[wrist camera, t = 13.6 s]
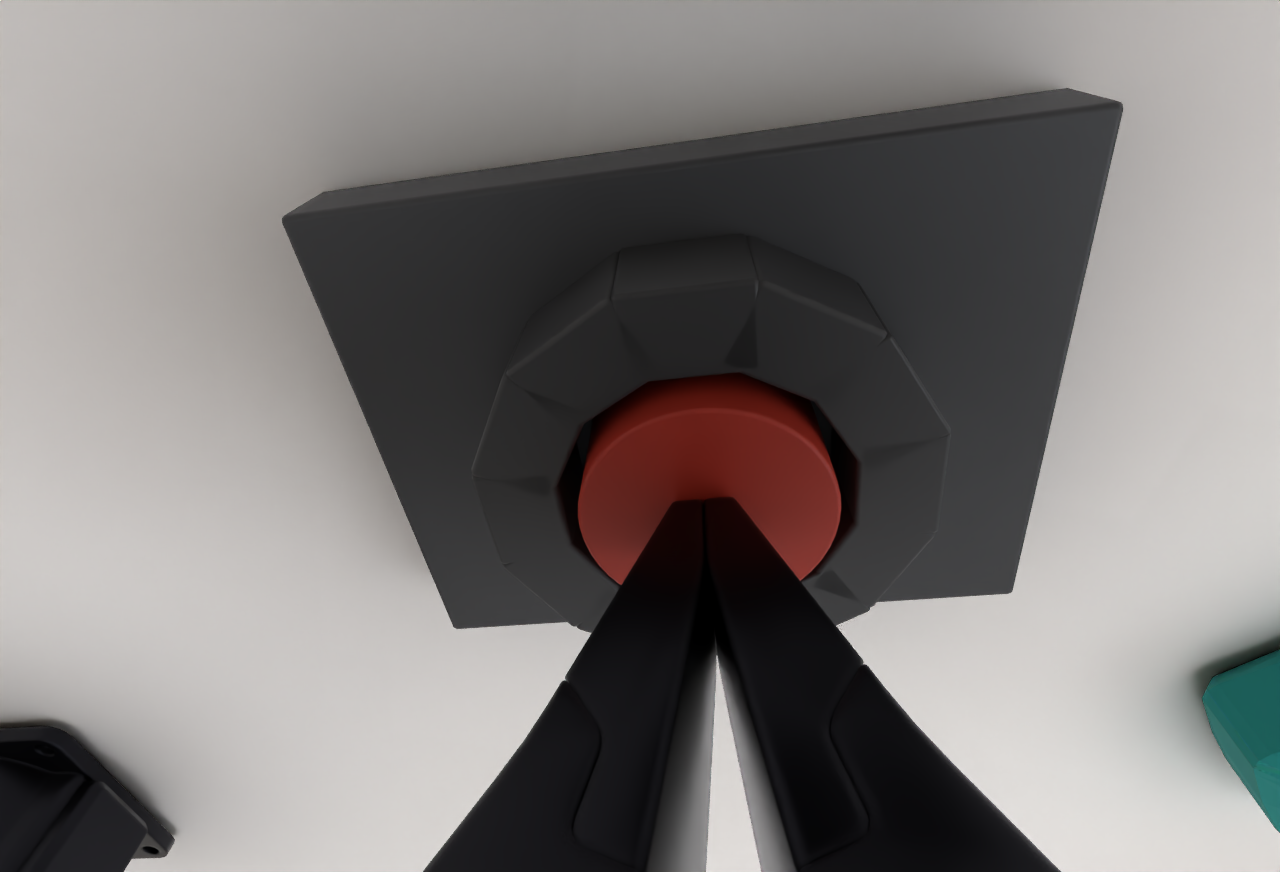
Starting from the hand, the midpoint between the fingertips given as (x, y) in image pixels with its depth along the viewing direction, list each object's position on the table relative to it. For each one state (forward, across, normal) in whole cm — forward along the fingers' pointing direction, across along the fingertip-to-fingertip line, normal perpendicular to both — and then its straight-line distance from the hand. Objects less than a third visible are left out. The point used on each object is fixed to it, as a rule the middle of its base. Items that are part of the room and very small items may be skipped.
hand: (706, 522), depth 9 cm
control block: (+4, 0, 0) cm, 4 cm away
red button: (+2, 0, 0) cm, 2 cm away
